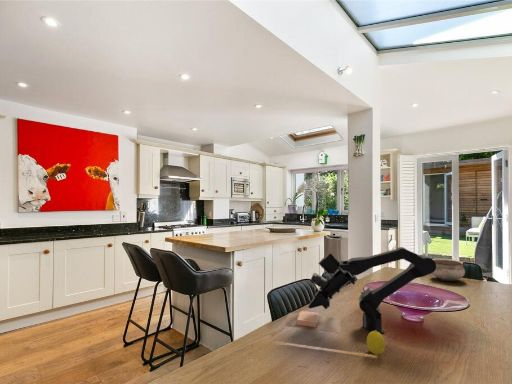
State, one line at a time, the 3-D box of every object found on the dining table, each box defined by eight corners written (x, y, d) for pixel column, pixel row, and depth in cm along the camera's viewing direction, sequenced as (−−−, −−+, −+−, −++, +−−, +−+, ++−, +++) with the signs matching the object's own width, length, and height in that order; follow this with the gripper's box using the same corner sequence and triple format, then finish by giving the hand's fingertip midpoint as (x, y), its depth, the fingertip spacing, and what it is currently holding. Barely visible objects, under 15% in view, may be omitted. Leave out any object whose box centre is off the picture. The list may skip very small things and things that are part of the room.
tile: (318, 312, 124) (300, 310, 126) (316, 322, 114) (297, 319, 116) (318, 317, 124) (300, 315, 126) (316, 327, 114) (297, 325, 116)
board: (340, 320, 123) (340, 318, 123) (340, 334, 110) (340, 332, 110) (289, 314, 129) (289, 312, 129) (282, 327, 116) (282, 325, 116)
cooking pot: (445, 286, 174) (444, 265, 175) (419, 278, 192) (419, 259, 193) (476, 282, 181) (475, 263, 182) (448, 275, 200) (448, 257, 200)
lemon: (369, 349, 99) (369, 325, 99) (387, 355, 95) (386, 330, 96) (364, 356, 94) (363, 331, 95) (382, 362, 91) (381, 336, 91)
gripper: (323, 262, 128) (298, 286, 131) (320, 272, 110) (291, 299, 113) (342, 282, 126) (316, 305, 128) (342, 295, 108) (312, 322, 111)
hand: (309, 307), depth 120 cm, fingers closed
